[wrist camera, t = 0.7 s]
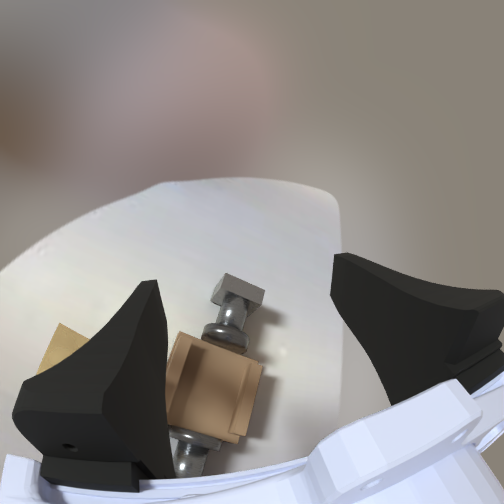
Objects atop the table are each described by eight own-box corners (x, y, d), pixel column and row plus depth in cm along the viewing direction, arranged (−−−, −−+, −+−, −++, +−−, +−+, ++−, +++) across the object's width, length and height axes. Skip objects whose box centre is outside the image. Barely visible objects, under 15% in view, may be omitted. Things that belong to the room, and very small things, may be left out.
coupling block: (135, 374, 22) (138, 362, 17) (119, 416, 20) (118, 417, 15) (72, 343, 21) (59, 322, 16) (55, 384, 18) (36, 374, 14)
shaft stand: (216, 502, 18) (233, 514, 15) (128, 478, 17) (130, 489, 14) (267, 309, 31) (285, 294, 28) (198, 279, 29) (210, 260, 26)
